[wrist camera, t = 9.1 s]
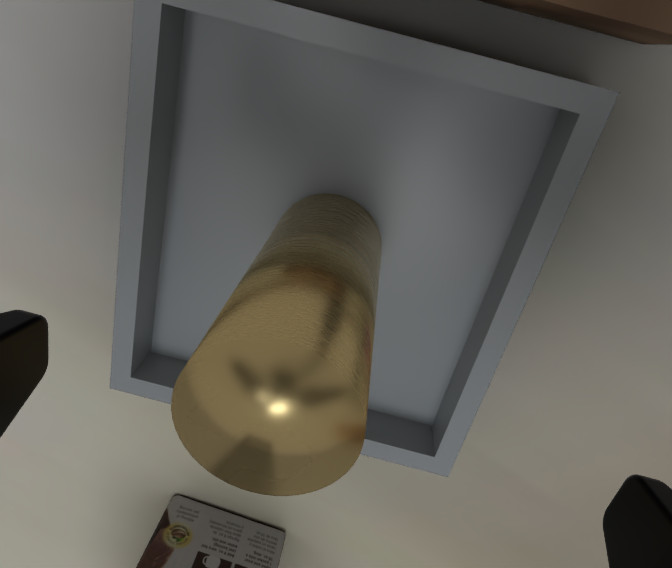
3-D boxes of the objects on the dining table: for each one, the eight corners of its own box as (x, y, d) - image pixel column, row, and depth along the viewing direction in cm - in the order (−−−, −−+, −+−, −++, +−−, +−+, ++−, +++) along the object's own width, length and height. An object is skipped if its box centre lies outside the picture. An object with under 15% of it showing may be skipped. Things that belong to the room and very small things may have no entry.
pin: (394, 209, 19) (389, 368, 10) (366, 305, 21) (340, 514, 12) (285, 181, 19) (180, 315, 10) (267, 279, 21) (163, 469, 12)
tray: (590, 86, 17) (619, 92, 15) (443, 435, 24) (447, 477, 21) (171, -26, 17) (136, -36, 15) (137, 354, 24) (109, 388, 21)
